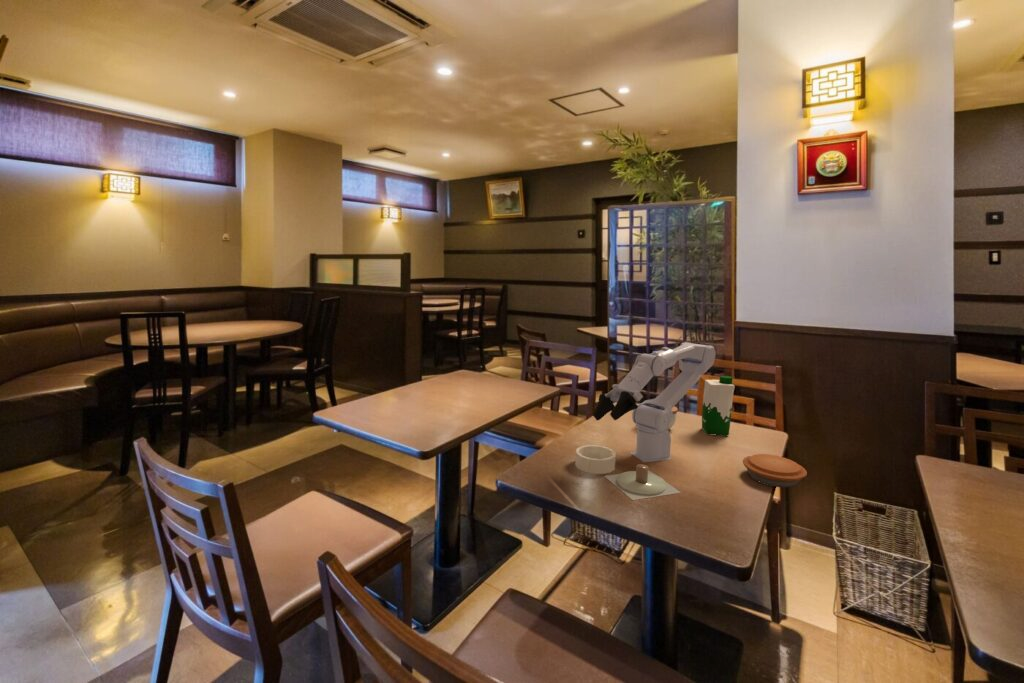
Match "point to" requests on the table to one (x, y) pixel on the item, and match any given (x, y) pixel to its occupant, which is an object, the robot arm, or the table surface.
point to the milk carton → (717, 405)
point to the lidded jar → (673, 417)
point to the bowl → (595, 459)
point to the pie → (774, 470)
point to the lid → (641, 481)
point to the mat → (634, 496)
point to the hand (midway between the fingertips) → (603, 417)
